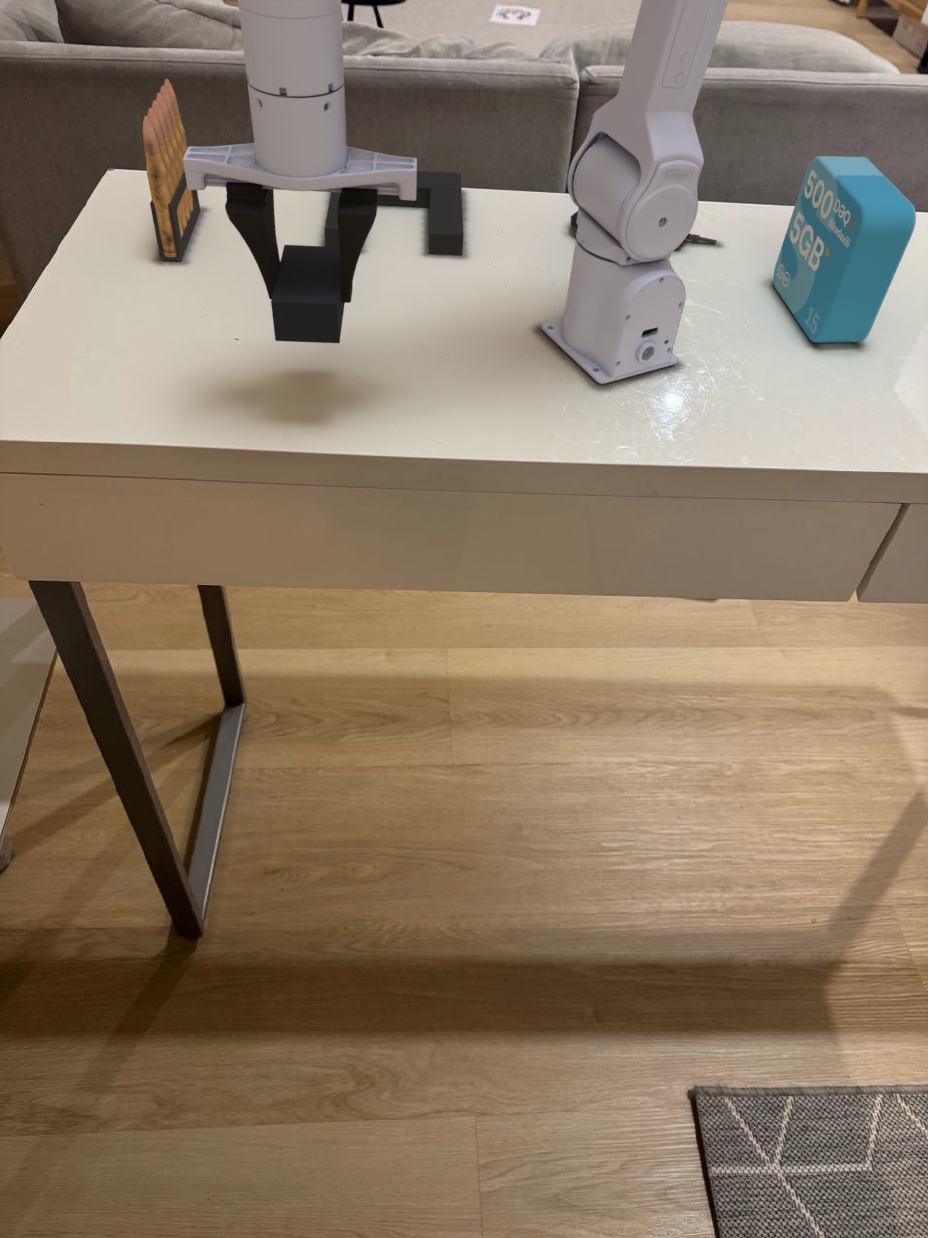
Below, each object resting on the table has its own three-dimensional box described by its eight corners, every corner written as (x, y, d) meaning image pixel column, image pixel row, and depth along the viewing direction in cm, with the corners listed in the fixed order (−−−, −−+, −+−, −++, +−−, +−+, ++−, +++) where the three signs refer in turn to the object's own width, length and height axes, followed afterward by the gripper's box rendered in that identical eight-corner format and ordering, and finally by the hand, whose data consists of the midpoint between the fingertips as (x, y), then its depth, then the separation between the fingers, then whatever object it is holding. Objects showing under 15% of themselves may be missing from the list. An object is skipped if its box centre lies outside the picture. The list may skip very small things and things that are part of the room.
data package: (769, 281, 87) (811, 149, 78) (813, 281, 87) (861, 150, 78) (814, 349, 79) (868, 211, 70) (863, 349, 79) (923, 212, 70)
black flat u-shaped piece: (462, 255, 87) (463, 234, 85) (325, 249, 86) (324, 228, 84) (459, 192, 96) (460, 172, 94) (336, 186, 95) (335, 166, 94)
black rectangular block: (339, 343, 62) (337, 303, 60) (275, 341, 62) (270, 300, 60) (347, 285, 68) (345, 246, 65) (287, 283, 67) (284, 244, 65)
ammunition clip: (181, 208, 90) (158, 73, 81) (200, 209, 90) (179, 75, 81) (160, 260, 83) (131, 119, 74) (181, 261, 83) (154, 120, 74)
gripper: (418, 64, 57) (415, 270, 67) (184, 51, 56) (217, 261, 66) (417, 105, 52) (413, 320, 62) (161, 92, 51) (200, 312, 61)
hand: (311, 293), depth 64 cm, fingers closed on black rectangular block, 4 cm apart
